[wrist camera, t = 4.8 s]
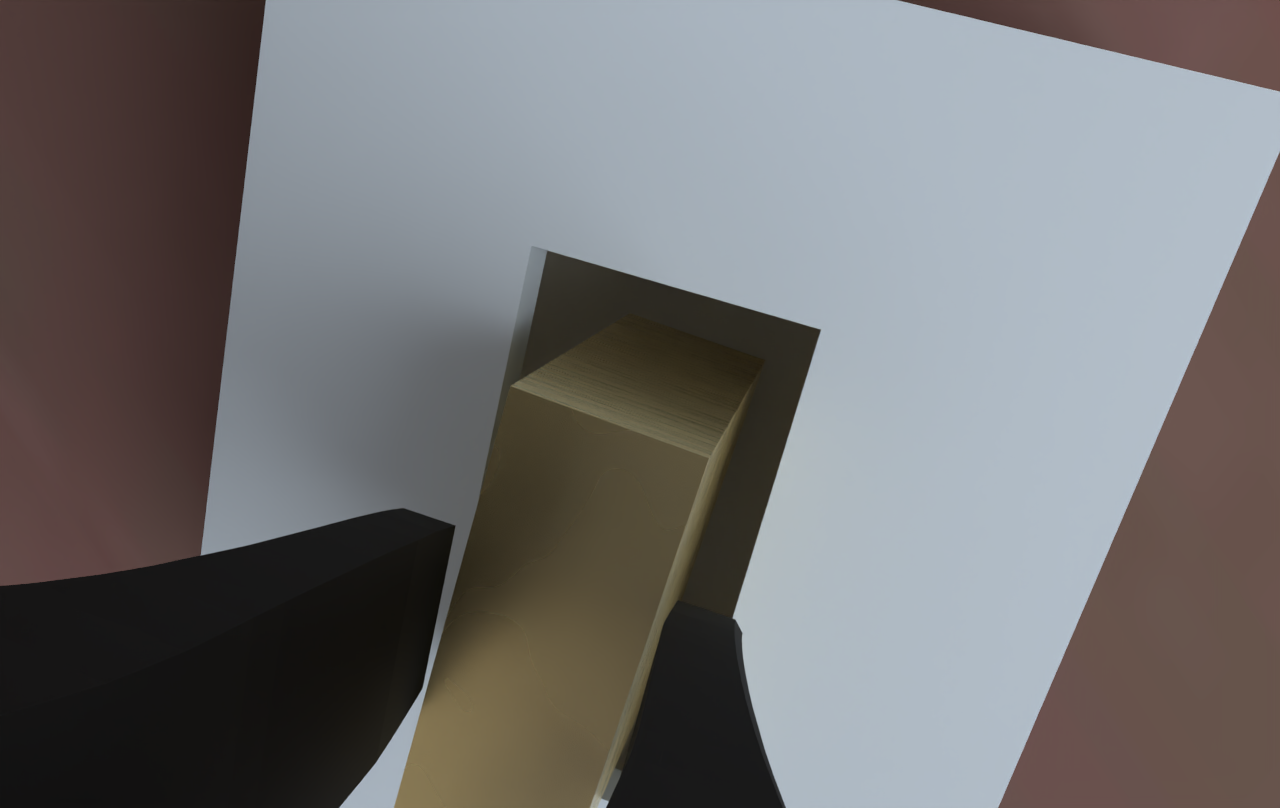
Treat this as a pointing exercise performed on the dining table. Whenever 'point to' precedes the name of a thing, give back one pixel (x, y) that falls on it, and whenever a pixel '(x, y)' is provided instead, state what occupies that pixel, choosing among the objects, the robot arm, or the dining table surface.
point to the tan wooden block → (575, 566)
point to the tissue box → (749, 319)
